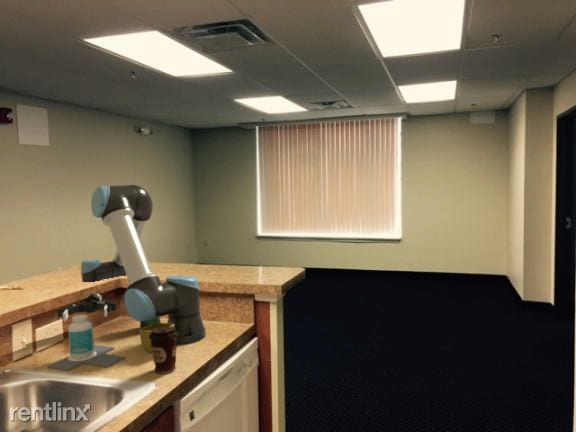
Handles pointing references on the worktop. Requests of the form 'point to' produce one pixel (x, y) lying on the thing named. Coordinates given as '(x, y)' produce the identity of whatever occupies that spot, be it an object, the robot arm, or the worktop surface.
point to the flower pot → (147, 331)
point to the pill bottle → (81, 337)
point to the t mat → (89, 359)
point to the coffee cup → (164, 348)
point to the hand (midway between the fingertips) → (84, 315)
